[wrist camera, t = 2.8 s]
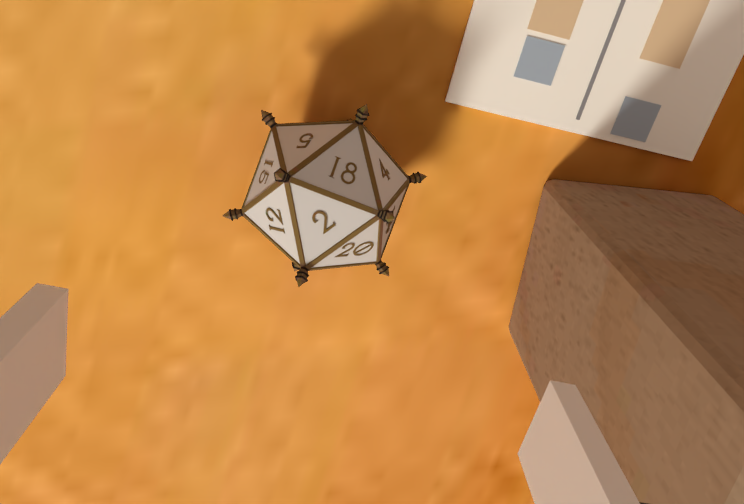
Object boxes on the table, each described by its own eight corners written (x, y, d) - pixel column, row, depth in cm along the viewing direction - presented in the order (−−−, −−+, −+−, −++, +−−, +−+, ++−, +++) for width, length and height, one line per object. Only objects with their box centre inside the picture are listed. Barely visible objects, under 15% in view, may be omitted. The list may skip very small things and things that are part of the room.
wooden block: (542, 175, 32) (781, 429, 14) (716, 193, 33) (1149, 456, 15) (505, 329, 37) (653, 675, 19) (659, 342, 37) (946, 687, 19)
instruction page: (508, -120, 26) (509, -121, 26) (785, -39, 28) (788, -38, 28) (445, 100, 31) (445, 101, 30) (690, 160, 32) (692, 161, 32)
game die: (361, 134, 35) (491, 159, 28) (310, 268, 35) (427, 329, 28) (230, 66, 29) (353, 75, 22) (171, 229, 29) (272, 294, 22)
